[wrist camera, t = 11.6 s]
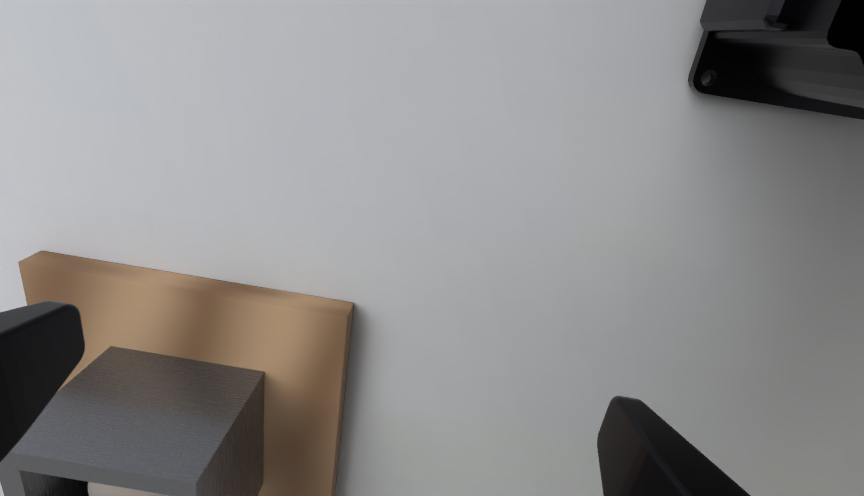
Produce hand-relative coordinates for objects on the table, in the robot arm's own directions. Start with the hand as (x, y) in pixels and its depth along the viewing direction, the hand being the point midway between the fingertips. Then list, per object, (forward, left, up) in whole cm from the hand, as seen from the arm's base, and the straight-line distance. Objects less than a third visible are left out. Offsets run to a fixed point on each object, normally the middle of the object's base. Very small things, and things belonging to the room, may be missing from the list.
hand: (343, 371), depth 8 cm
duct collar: (+9, +13, -11) cm, 19 cm away
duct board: (+9, +13, -12) cm, 20 cm away
